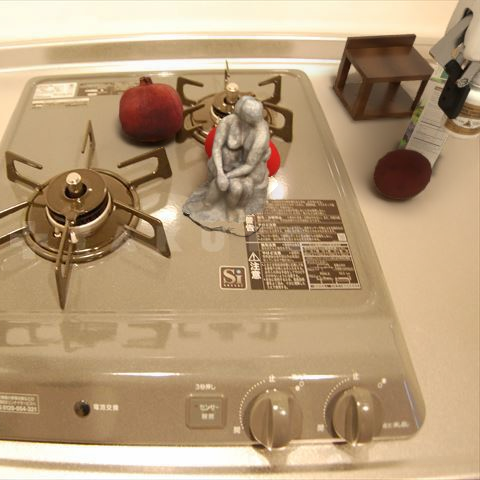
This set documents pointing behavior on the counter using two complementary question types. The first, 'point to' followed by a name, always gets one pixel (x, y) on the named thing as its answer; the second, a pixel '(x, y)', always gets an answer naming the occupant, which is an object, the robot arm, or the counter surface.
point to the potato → (402, 174)
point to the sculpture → (234, 169)
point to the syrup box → (427, 120)
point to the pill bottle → (466, 114)
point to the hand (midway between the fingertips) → (468, 108)
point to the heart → (272, 162)
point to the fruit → (150, 111)
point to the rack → (381, 76)
